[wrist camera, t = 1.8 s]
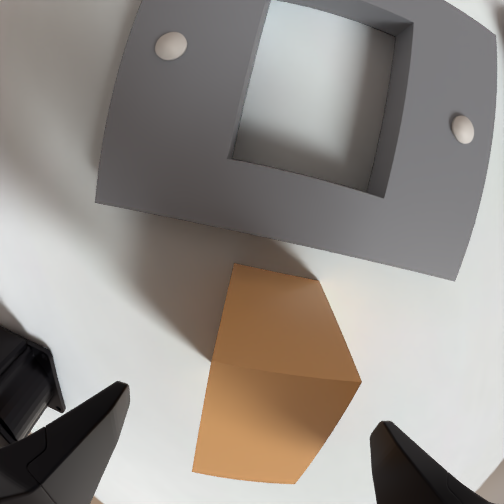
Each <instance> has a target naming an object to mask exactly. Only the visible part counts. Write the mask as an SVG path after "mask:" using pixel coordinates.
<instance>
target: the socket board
mask: <svg viewBox="0 0 504 504" xmlns="http://www.w3.org/2000/svg"><path fill="white" fill-rule="evenodd" d="M270 1H271V0H142V2H141V4H140V7H139V10H138V12H137V15H136V17H135V20H134V23H133V26H132V29H131V32H130V35H129V38H128V41H127V44H126V47H125V50H124V53H123V57H122V60H121V64H120V67H119V71H118V74H117V78H116V82H115V86H114V90H113V94H112V98H111V103H110V107H109V112H108V117H107V122H106V127H105V132H104V138H103V144H102V150H101V157H100V164H99V171H98V179H97V188H96V198H95V203H99V204H104V205H110V206H115V207H120V208H125V209H130V210H135V211H140V212H146V213H151V214H156V215H161V216H166V217H170V218H175V219H180V220H185V221H190V222H195V223H200V224H205V225H209V226H214V227H219V228H224V229H228V230H233V231H238V232H243V233H247V234H252V235H257V236H261V237H266V238H270V239H275V240H280V241H284V242H289V243H293V244H298V245H302V246H307V247H311V248H316V249H320V250H325V251H329V252H333V253H338V254H342V255H347V256H351V257H355V258H360V259H364V260H368V261H372V262H377V263H381V264H385V265H390V266H394V267H398V268H402V269H406V270H411V271H415V272H419V273H423V274H427V275H431V276H435V277H439V278H443V279H447V280H451V281H455V280H456V277H457V275H458V272H459V269H460V267H461V264H462V261H463V258H464V255H465V252H466V249H467V246H468V243H469V240H470V237H471V234H472V230H473V227H474V224H475V220H476V216H477V213H478V209H479V205H480V201H481V197H482V193H483V188H484V184H485V179H486V174H487V169H488V163H489V158H490V151H491V145H492V138H493V129H494V120H495V109H496V93H497V46H496V35H495V34H493V33H492V32H491V31H490V30H488V29H487V28H485V27H484V26H483V25H481V24H480V23H479V22H477V21H476V20H474V19H473V18H471V17H470V16H468V15H467V14H465V13H464V12H462V11H461V10H459V9H457V8H456V7H454V6H453V5H451V4H449V3H448V2H446V1H444V0H279V1H284V2H289V3H293V4H298V5H302V6H306V7H310V8H314V9H318V10H322V11H325V12H329V13H332V14H336V15H339V16H342V17H345V18H348V19H351V20H354V21H357V22H360V23H363V24H365V25H368V26H371V27H373V28H376V29H379V30H381V31H383V32H386V33H388V34H391V35H393V36H395V37H396V39H395V48H394V56H393V63H392V70H391V77H390V83H389V90H388V96H387V101H386V107H385V112H384V118H383V123H382V128H381V133H380V138H379V142H378V147H377V151H376V156H375V160H374V165H373V169H372V173H371V177H370V181H369V185H368V189H367V192H364V191H361V190H358V189H354V188H351V187H347V186H344V185H340V184H337V183H333V182H329V181H326V180H322V179H318V178H314V177H310V176H306V175H302V174H298V173H294V172H290V171H286V170H282V169H277V168H273V167H269V166H264V165H259V164H255V163H250V162H245V161H240V160H235V159H232V156H233V152H234V147H235V142H236V138H237V133H238V129H239V124H240V120H241V116H242V111H243V107H244V103H245V98H246V94H247V90H248V86H249V82H250V78H251V74H252V69H253V65H254V61H255V57H256V54H257V50H258V46H259V42H260V38H261V34H262V30H263V27H264V23H265V19H266V16H267V12H268V8H269V5H270Z"/></svg>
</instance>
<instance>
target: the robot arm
mask: <svg viewBox="0 0 504 504" xmlns="http://www.w3.org/2000/svg"><path fill="white" fill-rule="evenodd" d="M129 404H130V391H129V385H128V384H126V383H123V382H120V381H116V382H115V383H113V384H112V385H110V386H108V387H107V388H105V389H104V390H102V391H101V392H99V393H98V394H96V395H94V396H93V397H91V398H90V399H88V400H86V401H85V402H83V403H82V404H80V405H79V406H77V407H75V408H74V409H72V410H71V411H69V412H67V413H66V414H64V415H62V416H61V417H59V418H58V419H56V420H54V421H53V422H51V423H49V424H48V425H46V427H43V428H41V429H39V430H38V431H36V432H34V433H32V434H31V435H29V436H28V434H29V433H30V431H31V430H32V428H33V427H34V425H35V424H36V422H37V421H38V419H39V418H40V416H41V415H42V413H43V412H44V411H45V409H46V408H47V406H48V407H50V408H52V409H54V410H56V411H58V412H60V413H63V412H64V411H65V409H66V407H65V404H64V400H63V397H62V393H61V389H60V386H59V382H58V378H57V374H56V370H55V365H54V361H53V356H52V354H51V352H50V351H49V350H48V349H46V348H44V347H42V346H40V345H38V344H36V343H34V342H31V341H29V340H27V339H25V338H23V337H21V336H19V335H17V334H15V333H13V332H12V331H10V330H8V329H6V328H4V327H2V326H0V504H90V503H91V500H92V498H93V496H94V493H95V491H96V489H97V487H98V484H99V482H100V480H101V477H102V475H103V473H104V471H105V468H106V466H107V464H108V462H109V460H110V457H111V455H112V453H113V451H114V449H115V446H116V444H117V442H118V439H119V436H120V433H121V430H122V427H123V423H124V420H125V417H126V414H127V411H128V408H129ZM370 449H371V466H372V475H373V482H374V488H375V494H376V501H377V504H494V503H491V502H488V501H487V500H485V499H484V498H482V497H480V496H479V495H478V494H476V493H475V492H473V491H472V490H470V489H469V488H467V487H466V486H465V485H463V484H462V483H461V482H459V481H458V480H457V479H456V478H455V477H453V476H452V475H451V474H450V473H449V472H448V473H447V471H446V470H445V469H444V468H443V467H442V466H441V465H440V464H438V463H437V462H436V461H435V460H434V459H433V458H432V457H430V456H429V455H428V454H427V453H426V452H425V451H424V450H423V449H421V448H420V447H419V446H418V445H417V444H416V443H415V442H414V441H412V440H411V439H410V438H409V437H408V436H407V435H406V434H405V433H404V432H403V431H401V430H400V429H399V428H398V427H397V426H396V425H395V424H394V423H393V422H391V421H381V422H380V423H379V424H378V425H377V427H376V428H375V429H374V431H373V432H372V433H371V436H370Z"/></svg>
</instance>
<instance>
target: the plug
mask: <svg viewBox="0 0 504 504" xmlns="http://www.w3.org/2000/svg"><path fill="white" fill-rule="evenodd" d="M361 382H362V381H361V379H360V376H359V374H358V371H357V369H356V366H355V364H354V361H353V359H352V356H351V354H350V351H349V349H348V347H347V344H346V342H345V339H344V337H343V335H342V332H341V330H340V328H339V325H338V323H337V321H336V318H335V316H334V314H333V311H332V309H331V307H330V304H329V302H328V300H327V298H326V295H325V293H324V291H323V289H322V286H321V284H320V282H319V281H318V280H313V279H308V278H303V277H298V276H293V275H288V274H283V273H278V272H274V271H269V270H264V269H259V268H254V267H250V266H245V265H240V264H236V263H234V266H233V270H232V274H231V278H230V283H229V287H228V291H227V296H226V300H225V304H224V308H223V313H222V317H221V321H220V326H219V330H218V335H217V339H216V343H215V348H214V352H213V357H212V361H211V366H210V372H209V377H208V383H207V388H206V394H205V399H204V405H203V410H202V416H201V422H200V427H199V433H198V439H197V445H196V451H195V457H194V463H193V469H192V472H195V473H200V474H206V475H211V476H217V477H223V478H230V479H237V480H245V481H255V482H266V483H280V484H295V483H296V482H297V481H298V479H299V478H300V477H301V475H302V474H303V473H304V471H305V470H306V469H307V467H308V466H309V465H310V463H311V462H312V461H313V459H314V458H315V456H316V455H317V453H318V452H319V451H320V449H321V448H322V446H323V445H324V443H325V442H326V440H327V439H328V437H329V436H330V434H331V433H332V431H333V430H334V428H335V426H336V425H337V423H338V422H339V420H340V419H341V417H342V415H343V414H344V412H345V410H346V409H347V407H348V405H349V404H350V402H351V400H352V398H353V397H354V395H355V393H356V391H357V390H358V388H359V386H360V384H361Z"/></svg>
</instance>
